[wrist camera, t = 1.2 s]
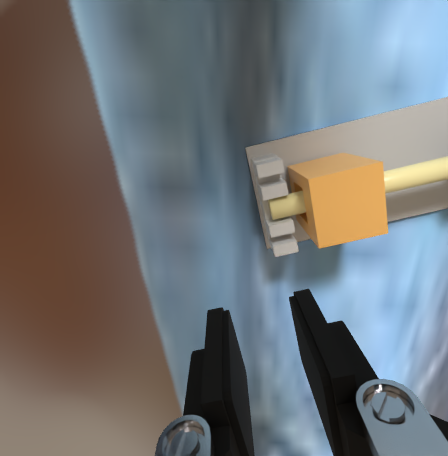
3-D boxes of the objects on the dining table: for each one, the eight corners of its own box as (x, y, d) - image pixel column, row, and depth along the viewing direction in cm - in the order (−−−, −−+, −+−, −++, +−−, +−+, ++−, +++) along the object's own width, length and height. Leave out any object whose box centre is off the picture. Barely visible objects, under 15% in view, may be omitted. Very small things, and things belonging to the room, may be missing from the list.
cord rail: (245, 147, 27) (251, 153, 21) (491, 85, 26) (573, 73, 20) (266, 247, 31) (277, 277, 24) (487, 197, 29) (557, 216, 23)
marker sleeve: (287, 166, 27) (308, 179, 21) (343, 152, 27) (382, 161, 20) (296, 220, 29) (319, 248, 22) (349, 208, 28) (388, 233, 22)
